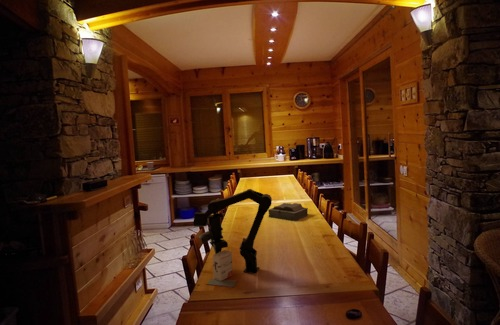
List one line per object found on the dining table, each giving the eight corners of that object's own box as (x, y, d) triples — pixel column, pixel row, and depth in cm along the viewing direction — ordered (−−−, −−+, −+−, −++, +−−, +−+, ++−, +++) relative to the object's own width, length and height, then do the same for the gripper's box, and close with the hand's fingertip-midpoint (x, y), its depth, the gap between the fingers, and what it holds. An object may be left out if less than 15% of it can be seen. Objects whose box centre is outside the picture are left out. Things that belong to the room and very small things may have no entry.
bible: (290, 223, 249) (289, 210, 248) (265, 216, 270) (264, 204, 269) (311, 216, 264) (311, 204, 263) (286, 211, 285) (285, 199, 284)
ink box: (225, 273, 170) (224, 249, 169) (233, 275, 167) (232, 251, 166) (213, 278, 163) (212, 254, 162) (220, 281, 160) (219, 256, 159)
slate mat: (211, 279, 164) (211, 278, 164) (237, 281, 160) (237, 281, 160) (206, 284, 158) (206, 284, 158) (233, 287, 155) (233, 286, 155)
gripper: (195, 223, 176) (197, 253, 178) (203, 233, 159) (206, 266, 160) (216, 220, 180) (218, 249, 182) (227, 229, 163) (229, 262, 164)
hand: (217, 256), depth 172 cm, fingers closed
